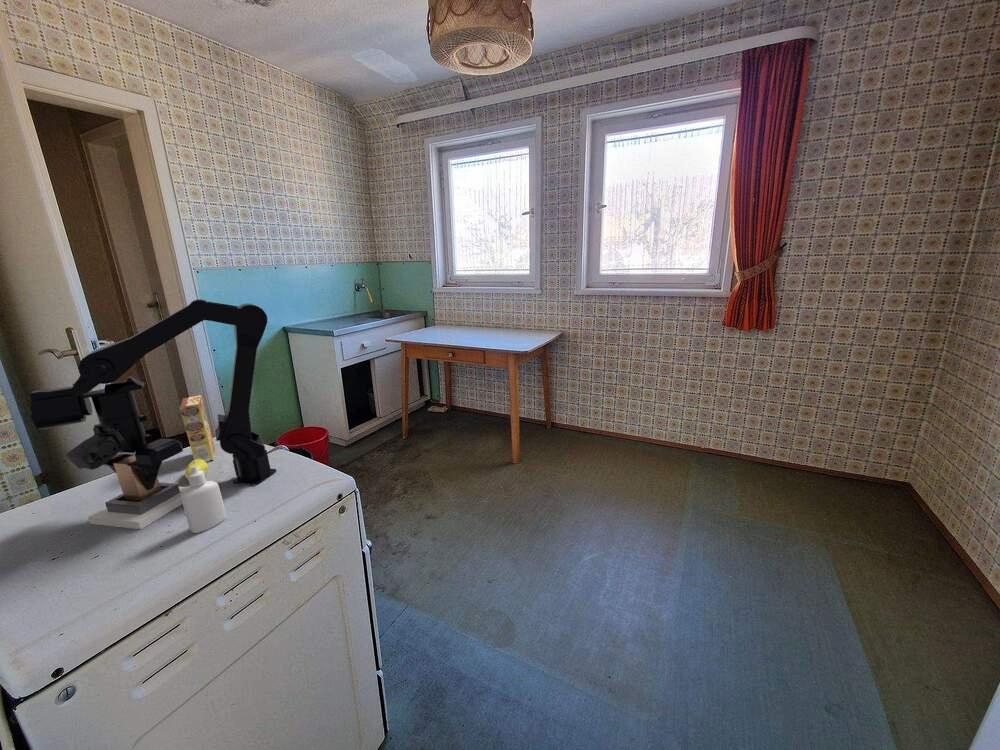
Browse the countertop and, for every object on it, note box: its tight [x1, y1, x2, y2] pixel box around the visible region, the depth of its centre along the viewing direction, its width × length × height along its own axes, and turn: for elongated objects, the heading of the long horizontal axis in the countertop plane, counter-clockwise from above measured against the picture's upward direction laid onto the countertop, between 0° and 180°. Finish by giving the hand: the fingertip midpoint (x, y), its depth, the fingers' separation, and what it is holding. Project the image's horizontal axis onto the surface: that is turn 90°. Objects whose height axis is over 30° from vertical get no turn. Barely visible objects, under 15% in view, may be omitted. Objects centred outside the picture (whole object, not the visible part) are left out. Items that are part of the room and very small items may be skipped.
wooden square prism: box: [113, 454, 161, 502], centre depth 81 cm, size 4×4×9 cm
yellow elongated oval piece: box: [184, 459, 209, 480], centre depth 95 cm, size 4×8×4 cm, turn 22°
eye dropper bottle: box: [181, 466, 227, 534], centre depth 75 cm, size 4×6×12 cm
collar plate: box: [88, 482, 190, 530], centre depth 82 cm, size 12×12×4 cm
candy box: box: [179, 395, 216, 462], centre depth 103 cm, size 9×4×15 cm, turn 33°
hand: (141, 488), depth 82 cm, fingers closed on wooden square prism, 4 cm apart
